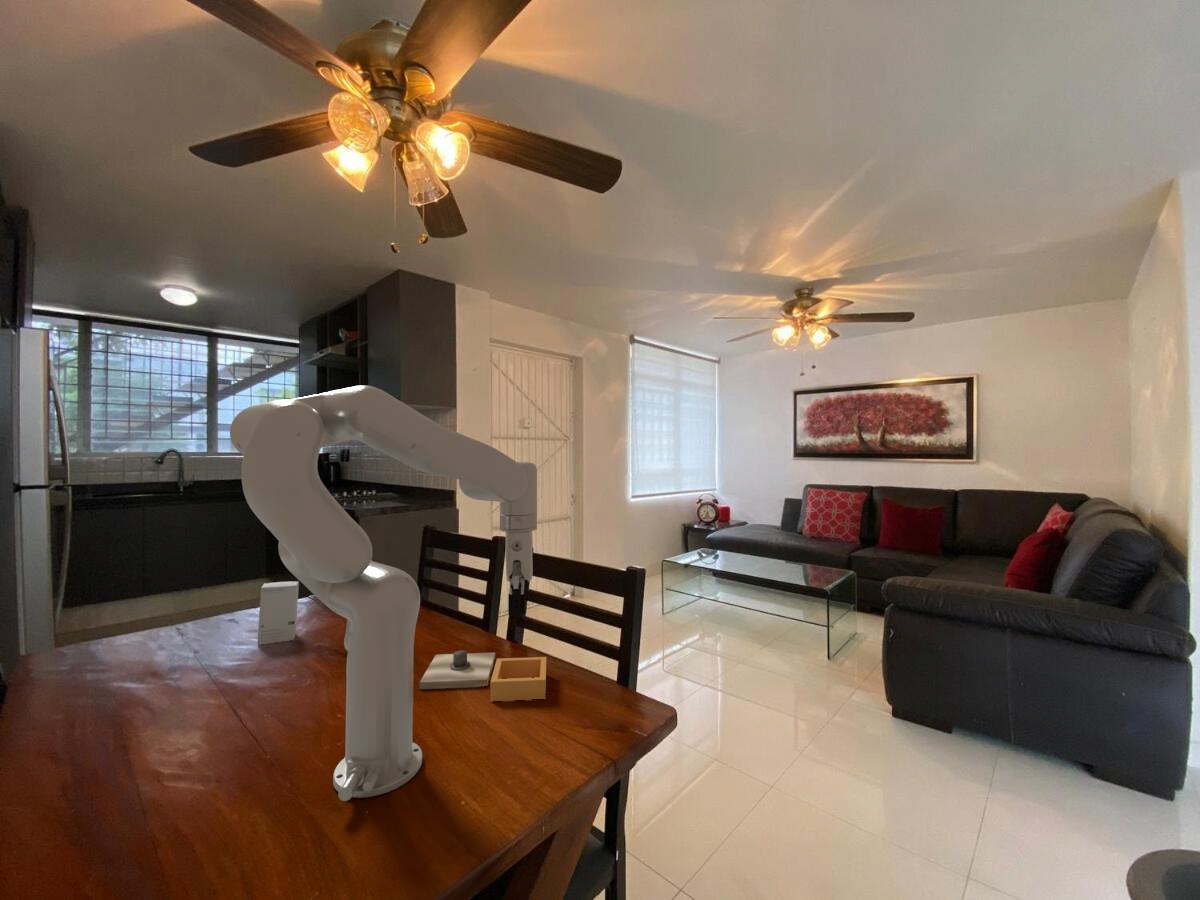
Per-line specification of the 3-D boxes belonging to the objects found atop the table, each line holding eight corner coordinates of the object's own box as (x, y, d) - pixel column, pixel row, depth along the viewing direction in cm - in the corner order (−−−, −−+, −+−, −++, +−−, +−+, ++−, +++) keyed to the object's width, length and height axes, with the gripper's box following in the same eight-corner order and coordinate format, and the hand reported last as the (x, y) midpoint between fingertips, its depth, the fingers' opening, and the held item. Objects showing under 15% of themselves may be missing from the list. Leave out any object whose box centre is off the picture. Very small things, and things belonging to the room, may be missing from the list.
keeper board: (487, 686, 101) (487, 665, 101) (419, 689, 99) (419, 667, 100) (495, 658, 115) (495, 640, 115) (435, 660, 113) (436, 641, 113)
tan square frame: (545, 699, 96) (545, 679, 96) (490, 702, 94) (490, 681, 95) (546, 674, 107) (546, 656, 107) (496, 676, 105) (496, 658, 106)
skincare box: (257, 646, 121) (258, 588, 121) (261, 638, 127) (262, 582, 127) (295, 640, 125) (296, 584, 125) (298, 633, 130) (299, 579, 131)
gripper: (535, 528, 88) (535, 620, 88) (537, 516, 105) (537, 593, 105) (495, 529, 87) (494, 622, 87) (503, 516, 105) (503, 594, 104)
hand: (518, 606), depth 96 cm, fingers open, 9 cm apart
